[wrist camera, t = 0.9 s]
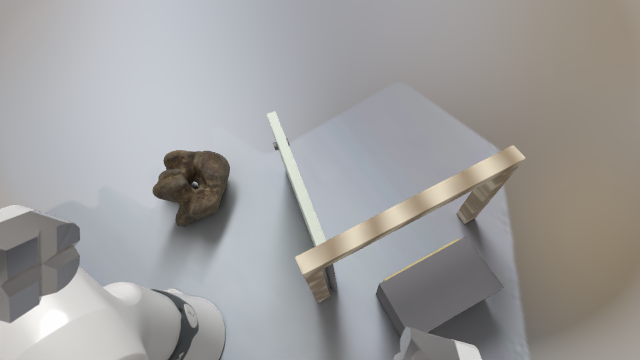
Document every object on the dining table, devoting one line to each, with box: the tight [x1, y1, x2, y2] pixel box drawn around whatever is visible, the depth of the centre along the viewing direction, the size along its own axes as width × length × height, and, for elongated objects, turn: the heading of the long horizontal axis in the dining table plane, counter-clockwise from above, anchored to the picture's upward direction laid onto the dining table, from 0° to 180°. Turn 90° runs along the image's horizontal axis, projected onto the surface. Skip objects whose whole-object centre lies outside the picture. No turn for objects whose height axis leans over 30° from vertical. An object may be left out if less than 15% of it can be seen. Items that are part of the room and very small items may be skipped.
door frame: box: [295, 146, 525, 303], centre depth 55 cm, size 33×2×22 cm, turn 117°
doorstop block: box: [376, 236, 504, 338], centre depth 57 cm, size 16×9×9 cm, turn 117°
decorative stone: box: [153, 150, 230, 227], centre depth 70 cm, size 16×11×15 cm
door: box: [267, 112, 337, 290], centre depth 60 cm, size 27×3×18 cm, turn 20°
